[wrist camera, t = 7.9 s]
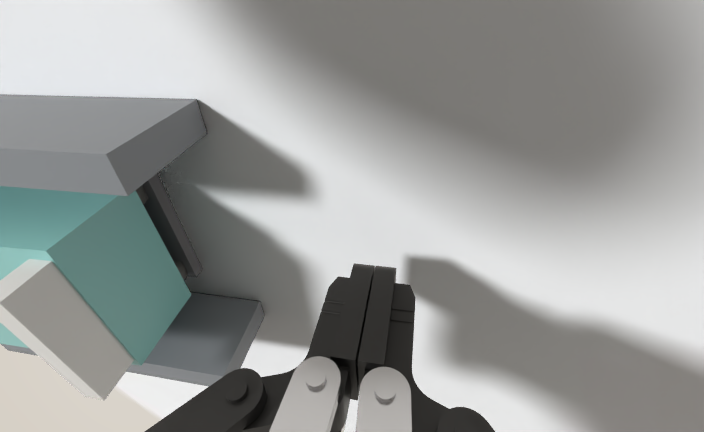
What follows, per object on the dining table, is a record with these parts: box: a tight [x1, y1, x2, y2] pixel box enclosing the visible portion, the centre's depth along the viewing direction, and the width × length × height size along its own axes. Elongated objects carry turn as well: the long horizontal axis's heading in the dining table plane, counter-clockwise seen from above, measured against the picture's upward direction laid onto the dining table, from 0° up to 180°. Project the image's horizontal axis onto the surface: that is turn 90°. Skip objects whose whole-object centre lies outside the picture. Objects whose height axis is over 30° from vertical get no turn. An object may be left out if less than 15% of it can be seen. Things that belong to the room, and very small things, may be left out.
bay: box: [0, 95, 264, 386], centre depth 14 cm, size 12×12×4 cm
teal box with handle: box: [0, 174, 202, 400], centre depth 13 cm, size 8×6×6 cm
